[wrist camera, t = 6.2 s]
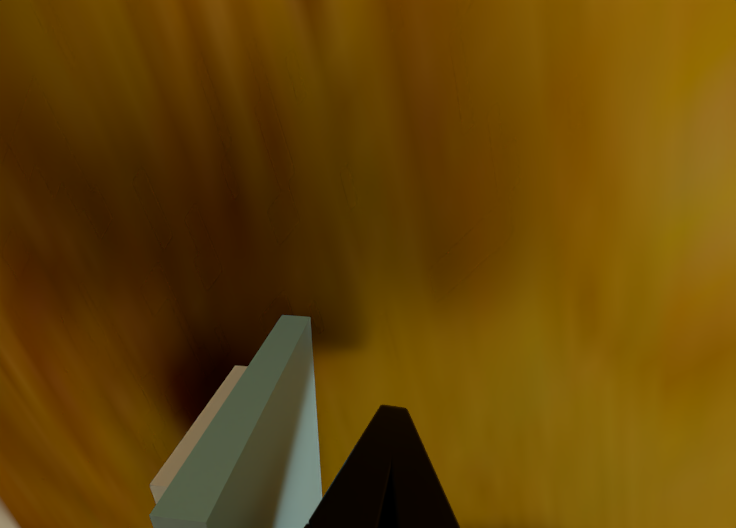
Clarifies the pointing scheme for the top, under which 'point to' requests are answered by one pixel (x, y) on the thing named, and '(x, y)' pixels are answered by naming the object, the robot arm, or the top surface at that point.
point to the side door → (250, 445)
